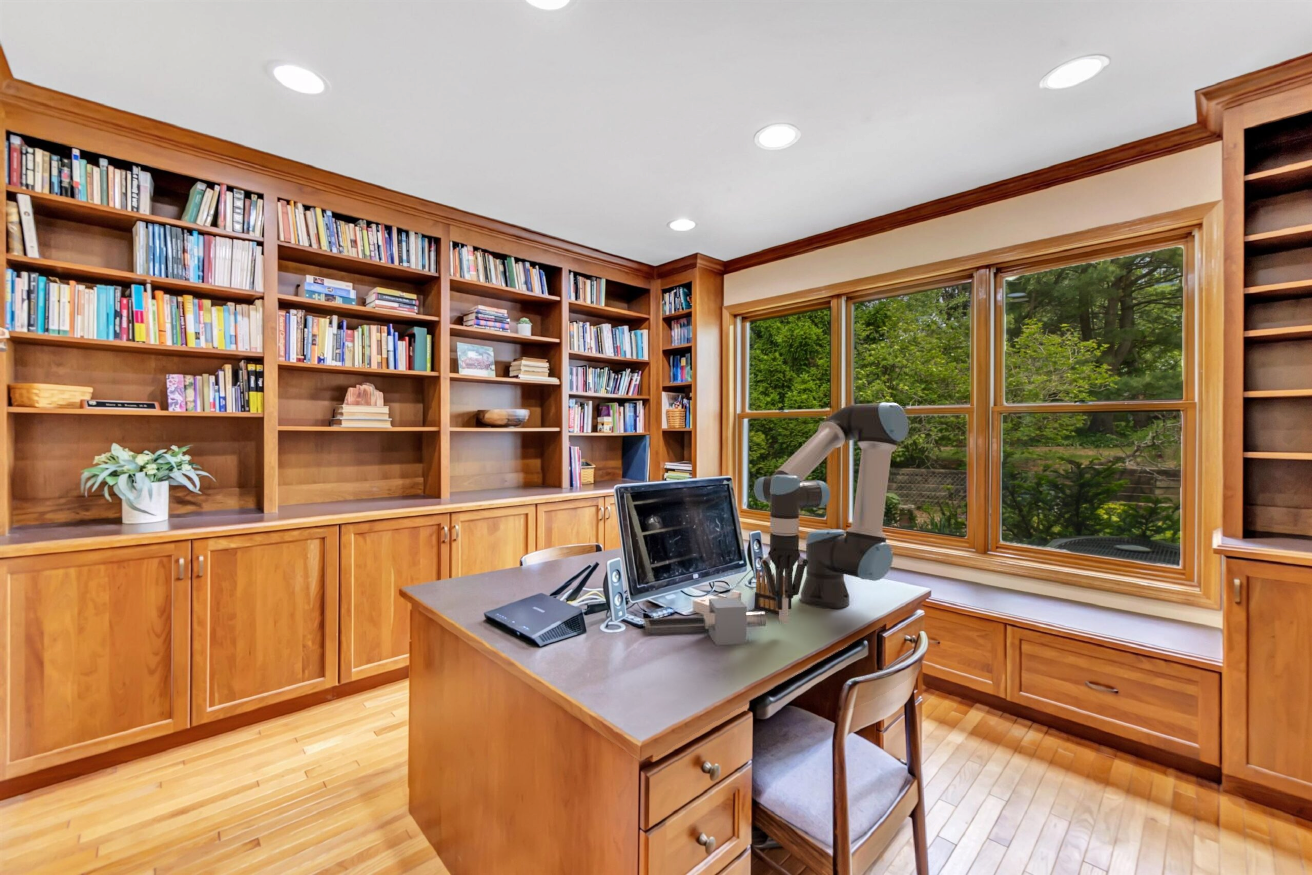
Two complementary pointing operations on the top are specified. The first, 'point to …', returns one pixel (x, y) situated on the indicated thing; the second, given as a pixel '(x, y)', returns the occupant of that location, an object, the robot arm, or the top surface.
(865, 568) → the robot arm
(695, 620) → the dark brown shallow tray
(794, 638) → the top surface
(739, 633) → the gray rectangular block
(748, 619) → the axle
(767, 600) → the ammunition clip
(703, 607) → the bracket
